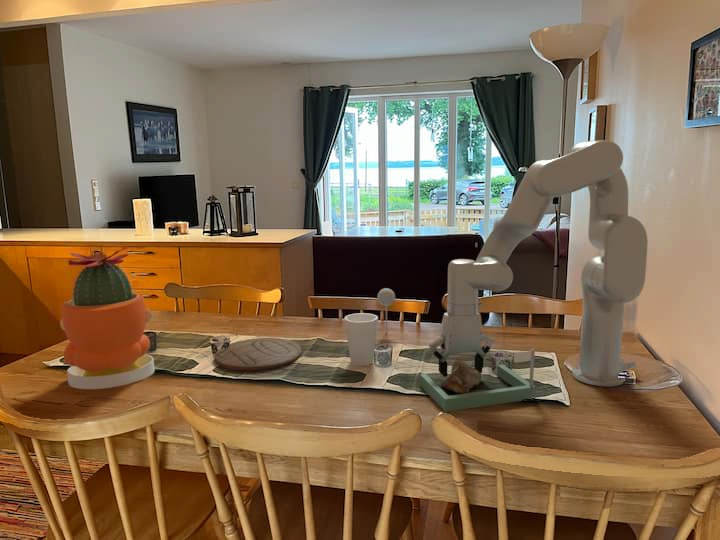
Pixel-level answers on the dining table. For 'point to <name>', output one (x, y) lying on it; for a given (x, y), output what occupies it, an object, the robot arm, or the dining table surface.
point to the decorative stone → (462, 378)
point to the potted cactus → (105, 327)
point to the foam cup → (361, 337)
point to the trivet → (258, 354)
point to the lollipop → (386, 299)
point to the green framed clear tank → (490, 397)
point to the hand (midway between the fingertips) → (460, 372)
